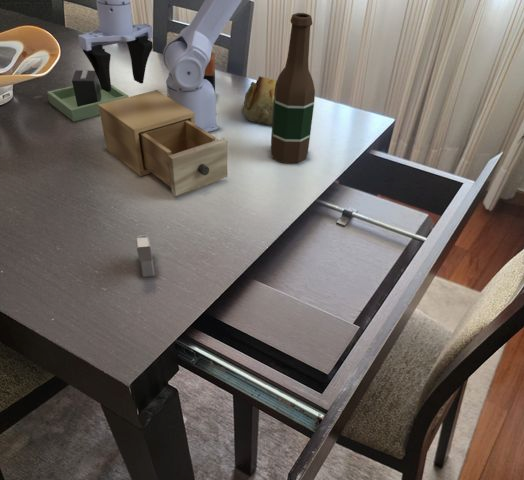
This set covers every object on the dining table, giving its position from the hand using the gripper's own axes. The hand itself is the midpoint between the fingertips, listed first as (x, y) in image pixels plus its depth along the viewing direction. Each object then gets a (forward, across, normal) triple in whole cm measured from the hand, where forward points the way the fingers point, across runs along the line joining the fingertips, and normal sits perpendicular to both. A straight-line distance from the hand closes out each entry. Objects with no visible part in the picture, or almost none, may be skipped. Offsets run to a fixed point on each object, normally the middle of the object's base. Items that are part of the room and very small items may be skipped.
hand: (122, 85), depth 94 cm
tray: (+10, +3, +17) cm, 20 cm away
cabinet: (+9, -2, -10) cm, 13 cm away
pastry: (+8, +29, -14) cm, 33 cm away
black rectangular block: (+9, +3, +17) cm, 20 cm away
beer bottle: (+8, +18, -28) cm, 35 cm away
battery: (+9, +24, +4) cm, 26 cm away
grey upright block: (+10, -26, -38) cm, 47 cm away
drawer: (+8, -3, -21) cm, 23 cm away
